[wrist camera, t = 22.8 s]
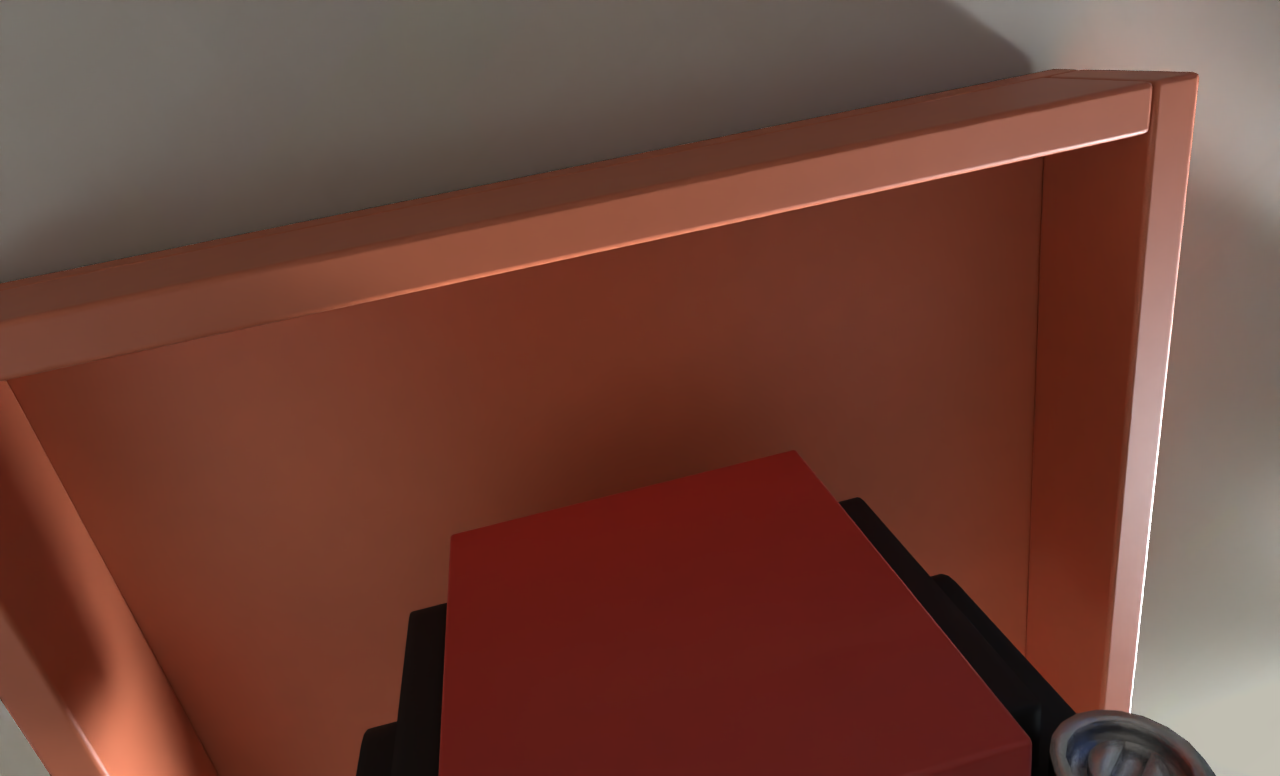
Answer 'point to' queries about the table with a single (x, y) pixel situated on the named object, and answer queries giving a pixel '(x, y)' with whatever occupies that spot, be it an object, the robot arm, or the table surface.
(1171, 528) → the table surface
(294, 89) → the table surface
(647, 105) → the table surface
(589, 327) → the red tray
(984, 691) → the red block
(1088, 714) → the robot arm
